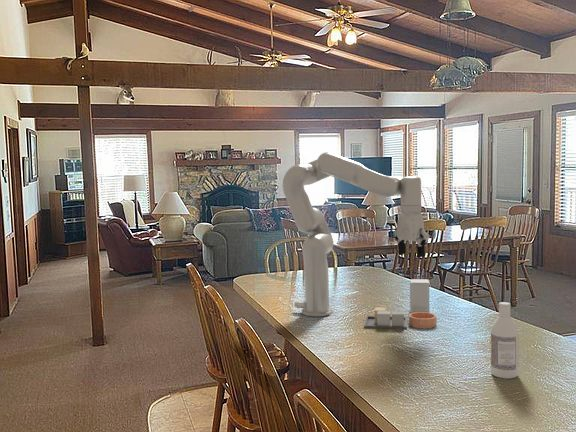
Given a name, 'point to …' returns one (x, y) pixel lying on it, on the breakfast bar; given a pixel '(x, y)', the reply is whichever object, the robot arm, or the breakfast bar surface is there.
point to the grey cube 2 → (397, 318)
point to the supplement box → (419, 295)
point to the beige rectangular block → (377, 311)
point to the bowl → (422, 320)
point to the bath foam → (504, 344)
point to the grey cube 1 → (383, 318)
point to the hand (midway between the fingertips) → (411, 255)
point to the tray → (371, 324)
